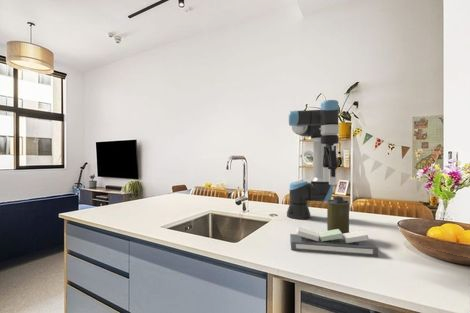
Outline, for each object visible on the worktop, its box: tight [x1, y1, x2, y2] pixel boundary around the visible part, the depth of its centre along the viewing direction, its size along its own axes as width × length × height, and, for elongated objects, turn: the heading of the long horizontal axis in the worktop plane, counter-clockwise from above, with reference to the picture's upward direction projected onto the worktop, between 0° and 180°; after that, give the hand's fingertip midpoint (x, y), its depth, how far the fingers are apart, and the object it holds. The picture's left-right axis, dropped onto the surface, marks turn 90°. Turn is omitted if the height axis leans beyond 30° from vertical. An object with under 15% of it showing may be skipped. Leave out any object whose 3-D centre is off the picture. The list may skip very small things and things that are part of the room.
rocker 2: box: [342, 229, 370, 243], centre depth 100 cm, size 6×9×2 cm, turn 79°
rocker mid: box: [317, 229, 343, 242], centre depth 102 cm, size 6×9×2 cm, turn 79°
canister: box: [326, 195, 350, 234], centre depth 117 cm, size 11×10×20 cm
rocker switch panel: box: [289, 233, 379, 257], centre depth 102 cm, size 10×34×5 cm, turn 79°
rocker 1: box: [295, 226, 319, 241], centre depth 104 cm, size 6×9×2 cm, turn 79°
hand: (329, 182), depth 106 cm, fingers open, 12 cm apart
